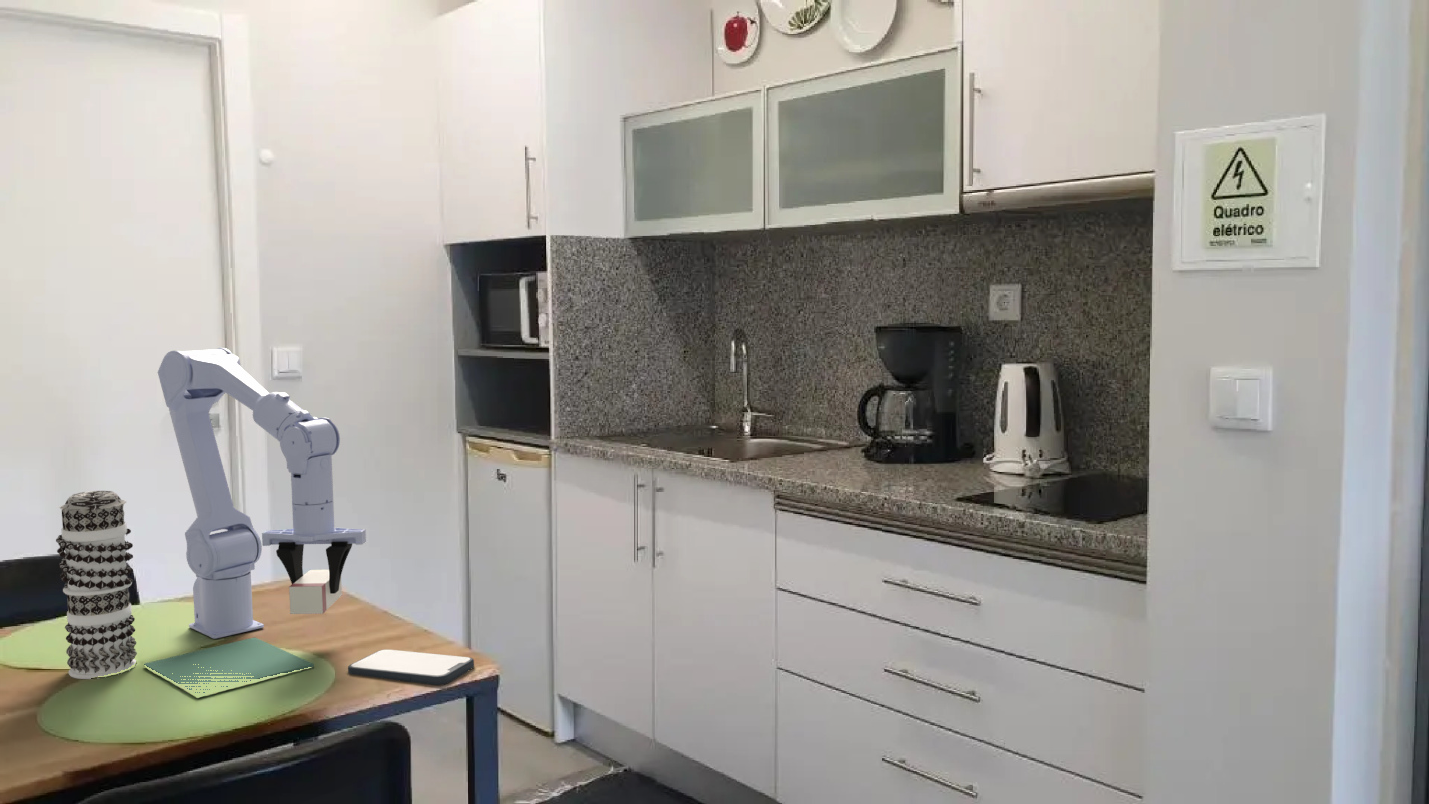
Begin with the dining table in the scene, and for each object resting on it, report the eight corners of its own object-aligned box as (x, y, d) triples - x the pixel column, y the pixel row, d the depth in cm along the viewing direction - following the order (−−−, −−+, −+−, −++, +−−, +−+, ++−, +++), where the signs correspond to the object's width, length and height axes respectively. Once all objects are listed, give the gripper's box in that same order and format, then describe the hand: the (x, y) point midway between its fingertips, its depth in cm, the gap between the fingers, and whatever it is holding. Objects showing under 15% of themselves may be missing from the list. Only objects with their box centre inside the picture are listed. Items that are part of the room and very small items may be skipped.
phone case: (343, 678, 154) (443, 689, 149) (343, 667, 154) (442, 677, 149) (383, 658, 163) (478, 668, 157) (382, 647, 162) (477, 657, 157)
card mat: (143, 667, 157) (143, 663, 157) (254, 641, 169) (254, 637, 168) (198, 699, 145) (197, 694, 145) (313, 667, 156) (313, 663, 156)
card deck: (311, 595, 169) (310, 569, 169) (342, 595, 170) (341, 569, 169) (290, 614, 160) (288, 586, 159) (323, 613, 160) (321, 586, 160)
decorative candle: (65, 664, 158) (53, 491, 156) (138, 654, 163) (128, 485, 160) (64, 684, 150) (52, 502, 148) (141, 672, 155) (130, 495, 152)
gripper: (252, 507, 159) (256, 600, 160) (354, 506, 160) (358, 598, 161) (270, 498, 166) (274, 587, 167) (368, 497, 167) (371, 585, 168)
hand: (316, 592), depth 165 cm, fingers closed on card deck, 5 cm apart
